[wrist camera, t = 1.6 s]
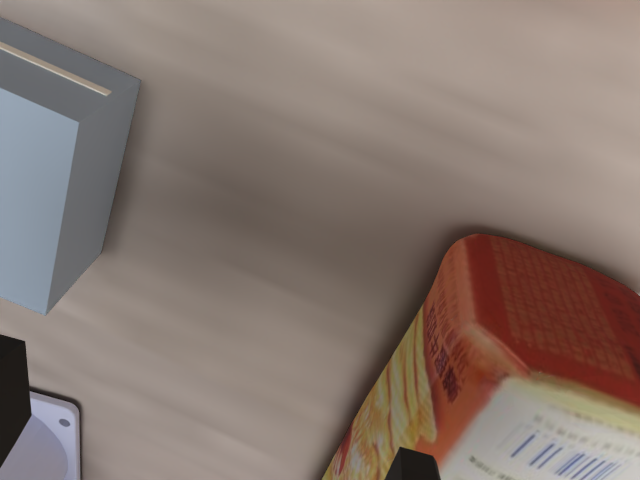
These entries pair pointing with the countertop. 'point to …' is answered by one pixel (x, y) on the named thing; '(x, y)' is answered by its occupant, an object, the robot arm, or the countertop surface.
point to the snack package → (508, 374)
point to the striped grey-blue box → (56, 162)
